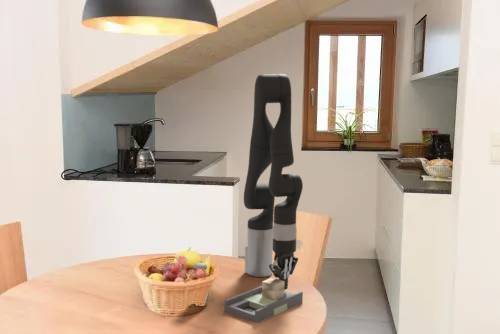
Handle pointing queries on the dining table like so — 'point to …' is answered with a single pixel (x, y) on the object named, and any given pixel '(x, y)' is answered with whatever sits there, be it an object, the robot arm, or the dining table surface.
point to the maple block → (273, 289)
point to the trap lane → (260, 304)
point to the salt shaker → (204, 266)
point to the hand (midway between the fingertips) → (283, 289)
